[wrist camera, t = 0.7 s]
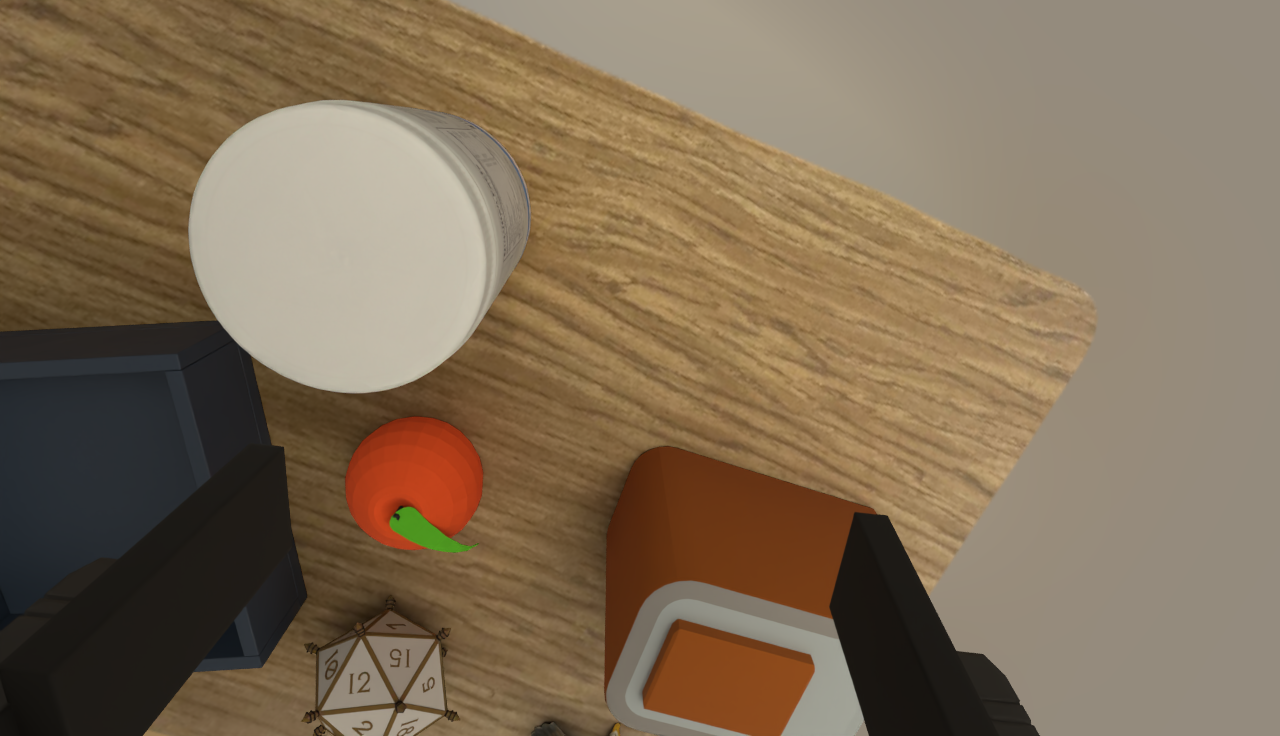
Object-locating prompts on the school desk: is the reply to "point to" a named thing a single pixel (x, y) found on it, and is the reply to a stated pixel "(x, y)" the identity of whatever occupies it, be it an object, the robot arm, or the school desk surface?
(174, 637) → the robot arm
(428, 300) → the supplement tub
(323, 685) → the game die
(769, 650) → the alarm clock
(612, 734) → the eagle figurine
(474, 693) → the school desk surface
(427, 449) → the clementine
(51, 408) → the bin
